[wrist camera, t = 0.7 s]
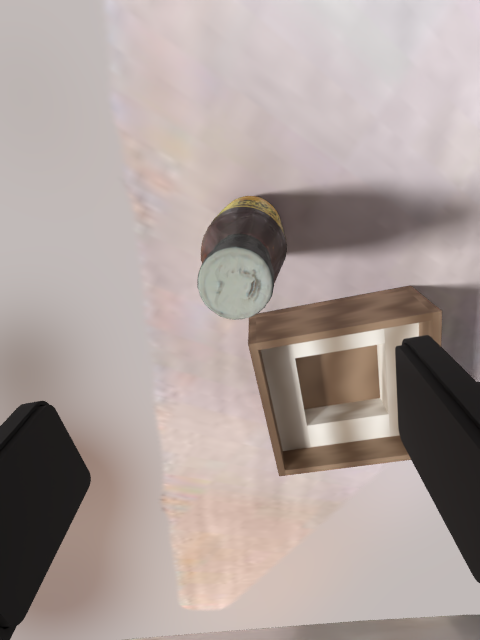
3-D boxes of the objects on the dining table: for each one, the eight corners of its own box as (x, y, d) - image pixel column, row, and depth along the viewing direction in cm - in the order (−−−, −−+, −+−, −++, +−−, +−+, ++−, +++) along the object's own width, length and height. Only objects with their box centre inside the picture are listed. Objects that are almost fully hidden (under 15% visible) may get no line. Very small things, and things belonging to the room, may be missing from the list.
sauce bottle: (292, 224, 36) (331, 291, 18) (250, 267, 38) (247, 365, 20) (246, 177, 34) (238, 199, 16) (204, 225, 36) (156, 290, 18)
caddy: (410, 285, 38) (441, 310, 32) (413, 414, 46) (438, 456, 39) (249, 315, 40) (248, 344, 34) (275, 433, 48) (279, 476, 41)
